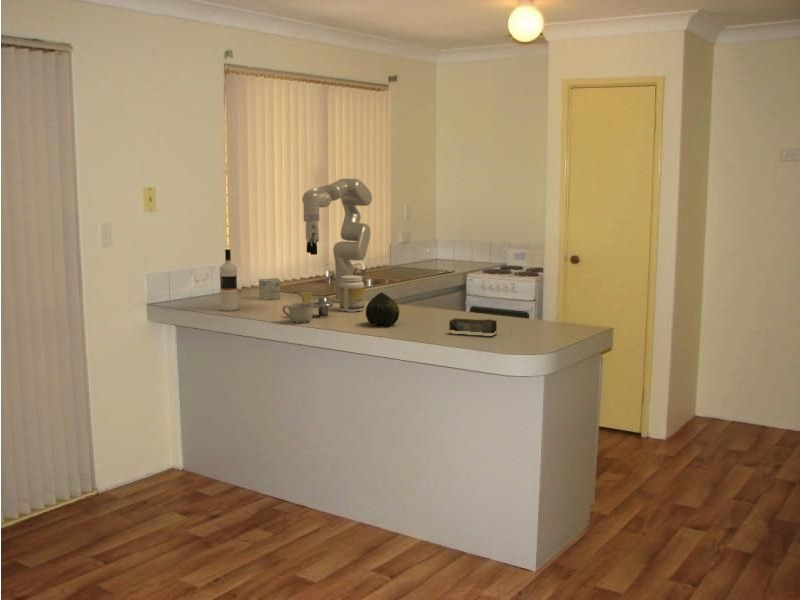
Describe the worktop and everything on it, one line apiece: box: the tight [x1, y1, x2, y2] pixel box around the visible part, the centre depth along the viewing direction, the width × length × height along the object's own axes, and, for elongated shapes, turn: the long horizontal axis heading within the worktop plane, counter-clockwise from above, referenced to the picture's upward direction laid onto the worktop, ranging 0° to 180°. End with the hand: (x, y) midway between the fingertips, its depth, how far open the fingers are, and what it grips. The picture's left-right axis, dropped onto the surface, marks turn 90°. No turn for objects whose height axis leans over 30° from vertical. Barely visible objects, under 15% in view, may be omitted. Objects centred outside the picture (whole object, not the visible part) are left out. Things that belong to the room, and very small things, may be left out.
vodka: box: [219, 248, 240, 312], centre depth 393 cm, size 9×9×30 cm
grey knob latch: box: [310, 296, 334, 317], centre depth 377 cm, size 17×10×9 cm, turn 107°
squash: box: [365, 292, 400, 326], centre depth 358 cm, size 14×15×15 cm
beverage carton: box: [448, 317, 498, 333], centre depth 338 cm, size 8×19×7 cm, turn 70°
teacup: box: [281, 302, 314, 324], centre depth 364 cm, size 14×11×8 cm
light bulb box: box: [258, 277, 281, 301], centre depth 428 cm, size 11×7×11 cm, turn 108°
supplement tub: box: [339, 274, 365, 313], centre depth 394 cm, size 12×12×17 cm
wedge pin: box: [299, 291, 313, 304], centre depth 375 cm, size 5×3×12 cm, turn 111°
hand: (311, 253), depth 389 cm, fingers open, 9 cm apart
